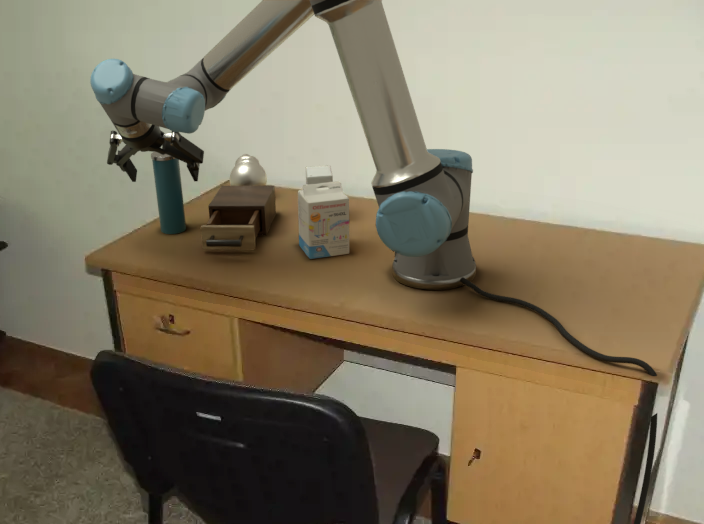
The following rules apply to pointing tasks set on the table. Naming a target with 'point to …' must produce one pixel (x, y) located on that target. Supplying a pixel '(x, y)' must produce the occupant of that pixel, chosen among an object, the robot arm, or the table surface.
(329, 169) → the small box
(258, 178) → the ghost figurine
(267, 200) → the cabinet
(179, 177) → the dark teal cylinder
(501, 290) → the table surface
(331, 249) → the ink box
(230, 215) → the drawer
